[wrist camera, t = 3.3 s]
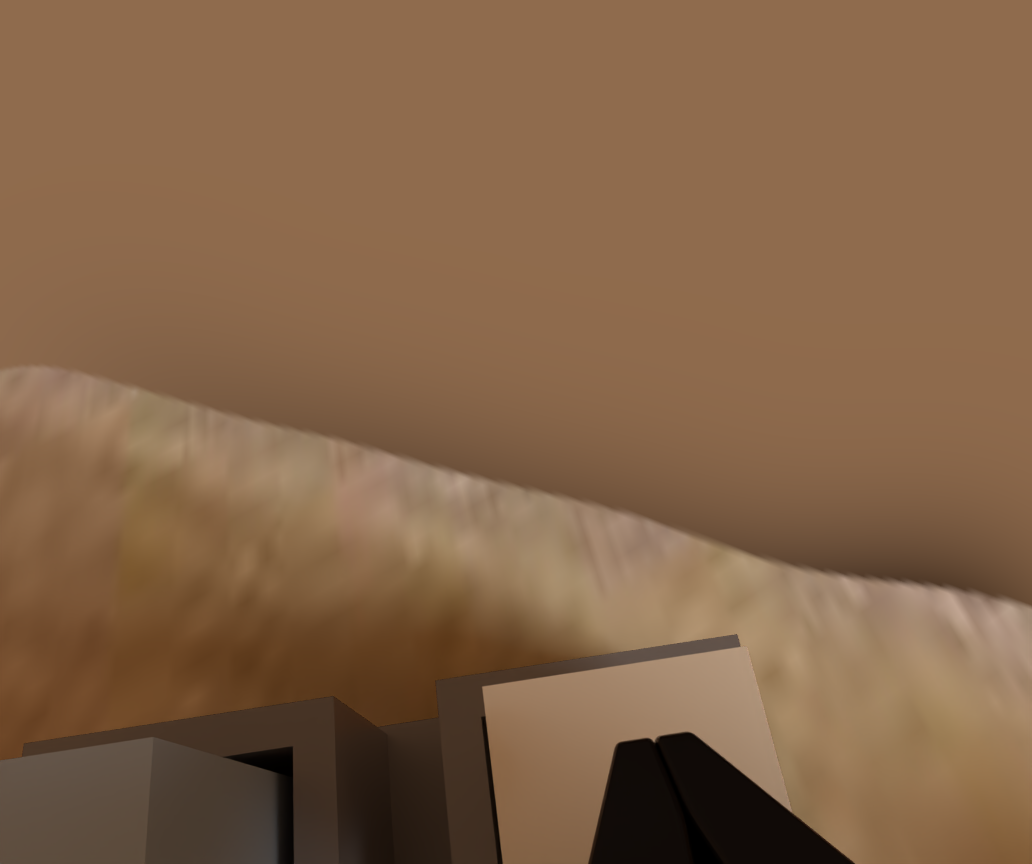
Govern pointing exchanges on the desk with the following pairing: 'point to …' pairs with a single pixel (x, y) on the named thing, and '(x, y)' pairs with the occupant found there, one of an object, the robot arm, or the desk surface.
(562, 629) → the desk surface
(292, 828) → the slate key
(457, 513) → the desk surface
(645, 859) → the robot arm
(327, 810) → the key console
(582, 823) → the beige block
